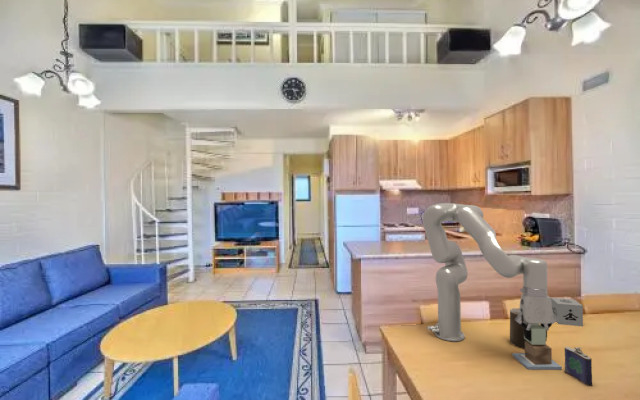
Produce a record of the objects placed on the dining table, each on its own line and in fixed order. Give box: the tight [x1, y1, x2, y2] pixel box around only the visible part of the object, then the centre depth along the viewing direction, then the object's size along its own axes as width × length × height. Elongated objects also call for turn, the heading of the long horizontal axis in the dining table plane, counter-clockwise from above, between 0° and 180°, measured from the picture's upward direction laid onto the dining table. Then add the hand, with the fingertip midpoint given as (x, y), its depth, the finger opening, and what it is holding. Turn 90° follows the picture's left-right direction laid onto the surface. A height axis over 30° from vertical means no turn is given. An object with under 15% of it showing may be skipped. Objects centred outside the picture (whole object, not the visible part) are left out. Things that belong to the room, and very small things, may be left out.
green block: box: [524, 324, 547, 345], centre depth 121 cm, size 5×5×6 cm
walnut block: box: [524, 341, 553, 365], centre depth 120 cm, size 6×6×6 cm
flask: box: [564, 346, 593, 387], centre depth 110 cm, size 9×3×11 cm, turn 8°
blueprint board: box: [511, 352, 563, 371], centre depth 121 cm, size 12×10×1 cm
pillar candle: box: [509, 308, 527, 350], centre depth 135 cm, size 10×10×15 cm
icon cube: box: [550, 297, 584, 327], centre depth 158 cm, size 10×10×10 cm
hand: (535, 339), depth 121 cm, fingers closed on green block, 4 cm apart
